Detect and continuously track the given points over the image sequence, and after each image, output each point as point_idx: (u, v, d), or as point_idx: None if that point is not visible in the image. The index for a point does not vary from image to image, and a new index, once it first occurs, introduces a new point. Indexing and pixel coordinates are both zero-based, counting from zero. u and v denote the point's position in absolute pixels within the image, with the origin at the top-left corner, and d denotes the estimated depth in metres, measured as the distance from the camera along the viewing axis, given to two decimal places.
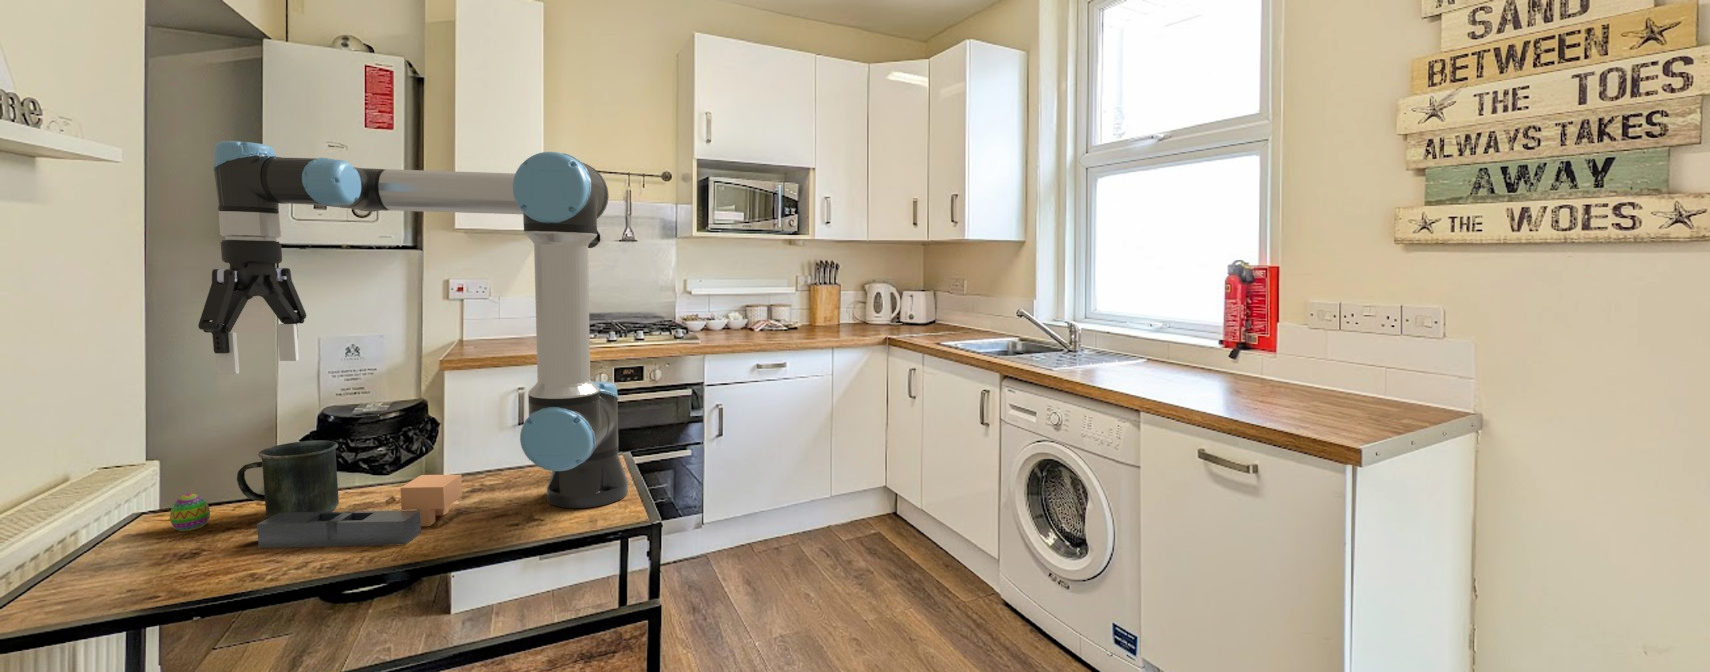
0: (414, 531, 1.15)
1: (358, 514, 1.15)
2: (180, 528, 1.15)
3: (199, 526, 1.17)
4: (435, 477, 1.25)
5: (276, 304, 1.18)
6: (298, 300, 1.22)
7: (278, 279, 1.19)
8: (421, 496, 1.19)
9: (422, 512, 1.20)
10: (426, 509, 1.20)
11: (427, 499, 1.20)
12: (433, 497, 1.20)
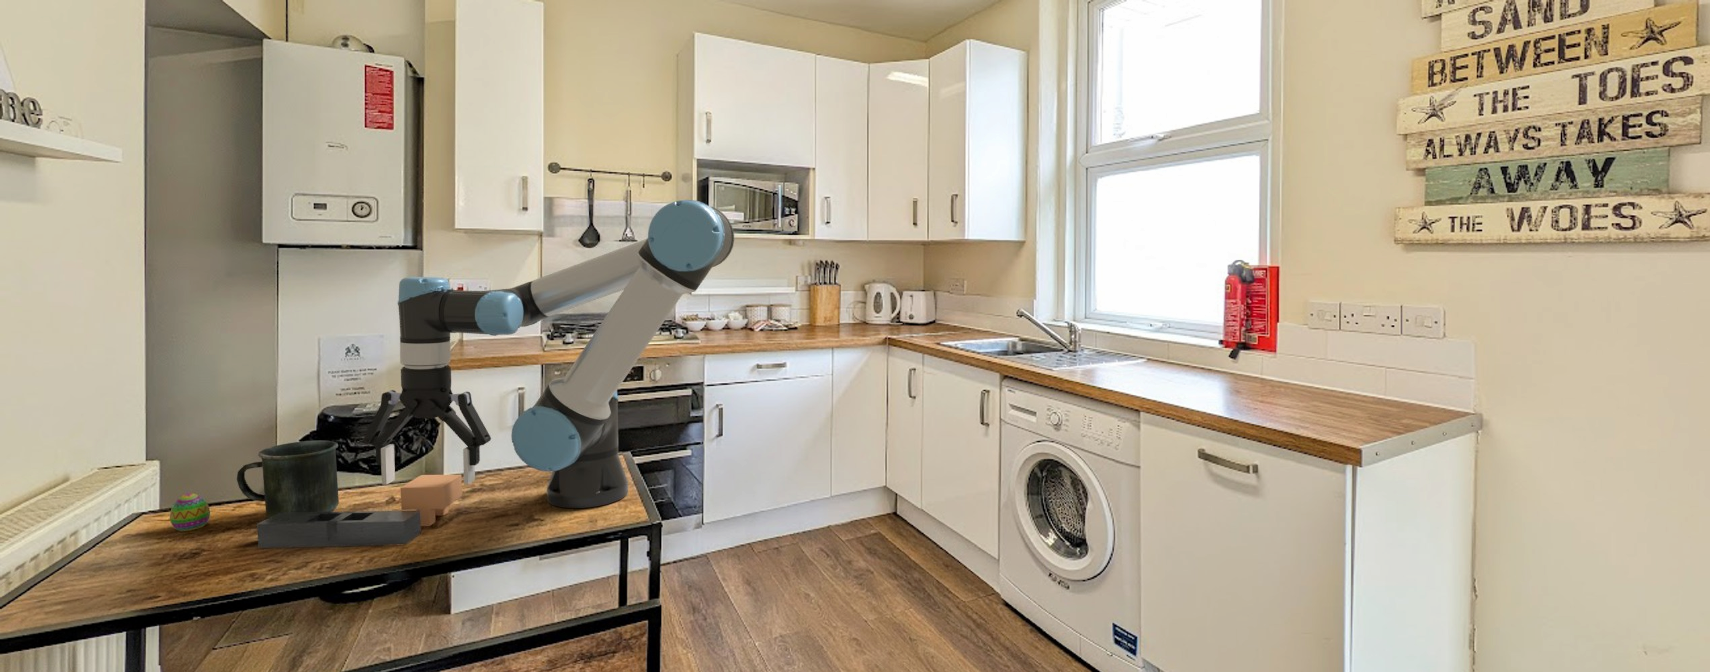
0: (414, 531, 1.15)
1: (358, 514, 1.15)
2: (180, 528, 1.15)
3: (199, 526, 1.17)
4: (435, 477, 1.25)
5: None
6: (474, 426, 1.21)
7: None
8: (421, 496, 1.19)
9: (422, 512, 1.20)
10: (426, 509, 1.20)
11: (427, 499, 1.20)
12: (433, 497, 1.20)
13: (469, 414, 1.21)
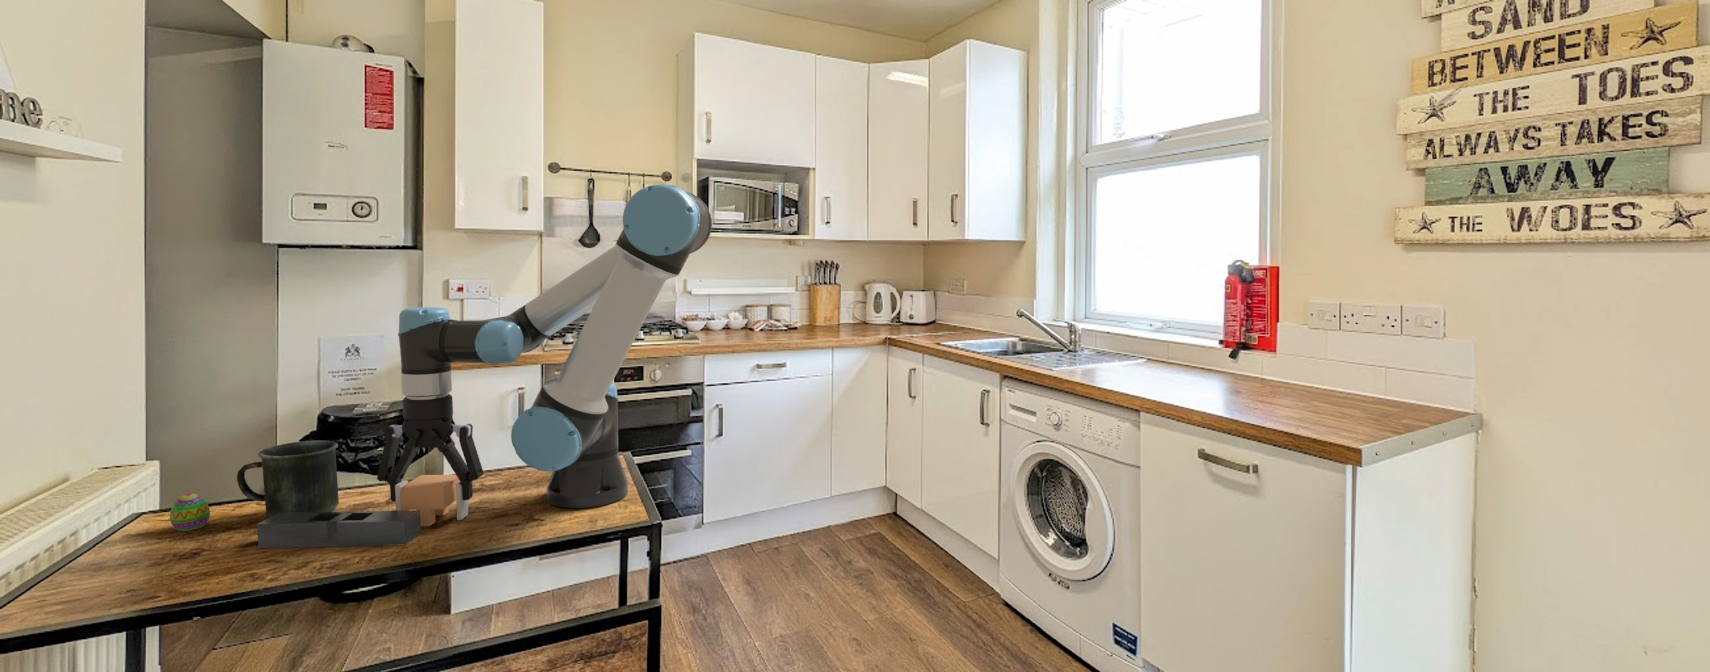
0: (414, 531, 1.15)
1: (358, 514, 1.15)
2: (180, 528, 1.15)
3: (199, 526, 1.17)
4: (435, 477, 1.25)
5: None
6: (470, 460, 1.22)
7: None
8: (421, 496, 1.19)
9: (422, 512, 1.20)
10: (426, 509, 1.20)
11: (427, 499, 1.20)
12: (433, 497, 1.20)
13: (467, 448, 1.22)
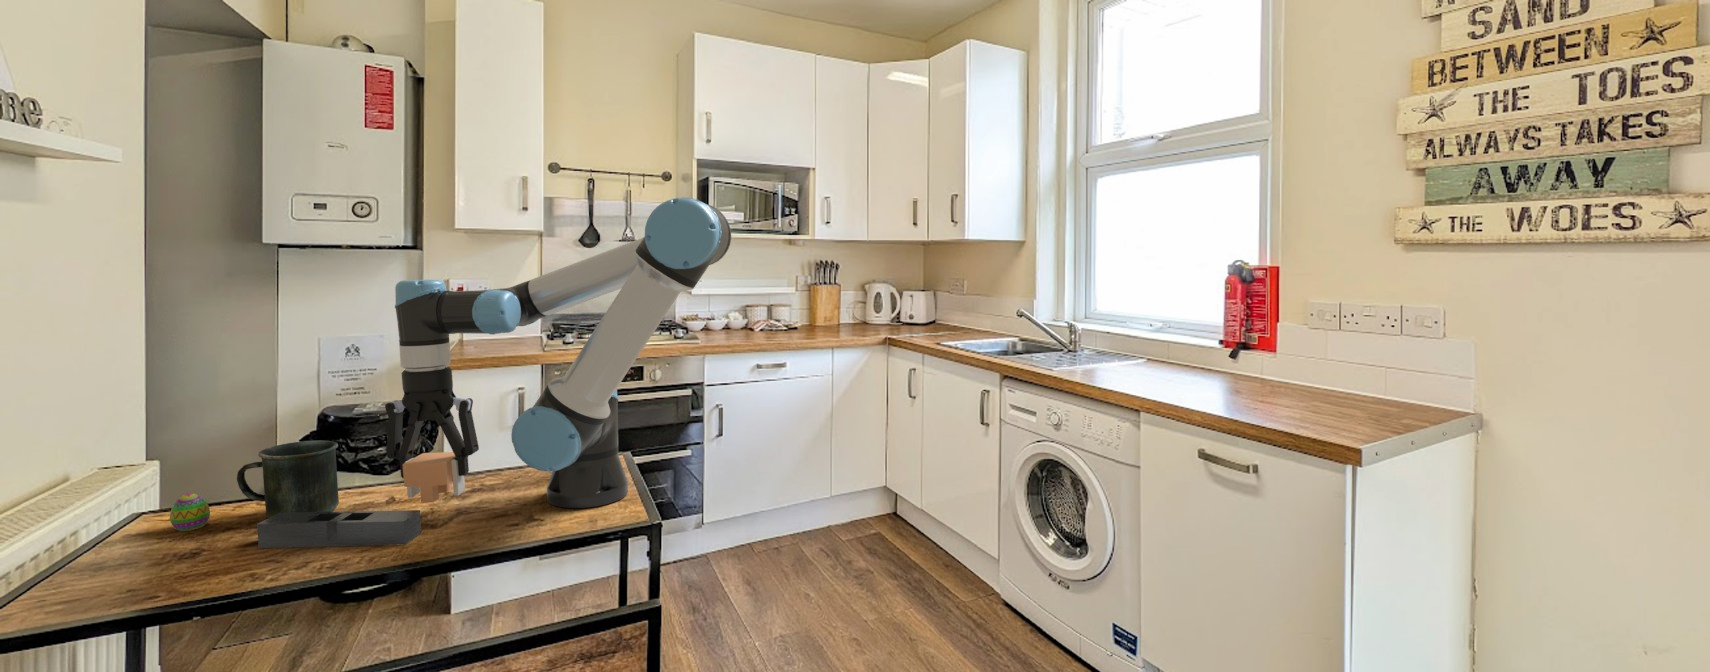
0: (414, 531, 1.15)
1: (358, 514, 1.15)
2: (180, 528, 1.15)
3: (199, 526, 1.17)
4: (437, 454, 1.24)
5: None
6: (467, 435, 1.21)
7: None
8: (423, 472, 1.19)
9: (425, 488, 1.19)
10: (429, 485, 1.19)
11: (430, 475, 1.19)
12: (435, 473, 1.19)
13: (466, 422, 1.21)
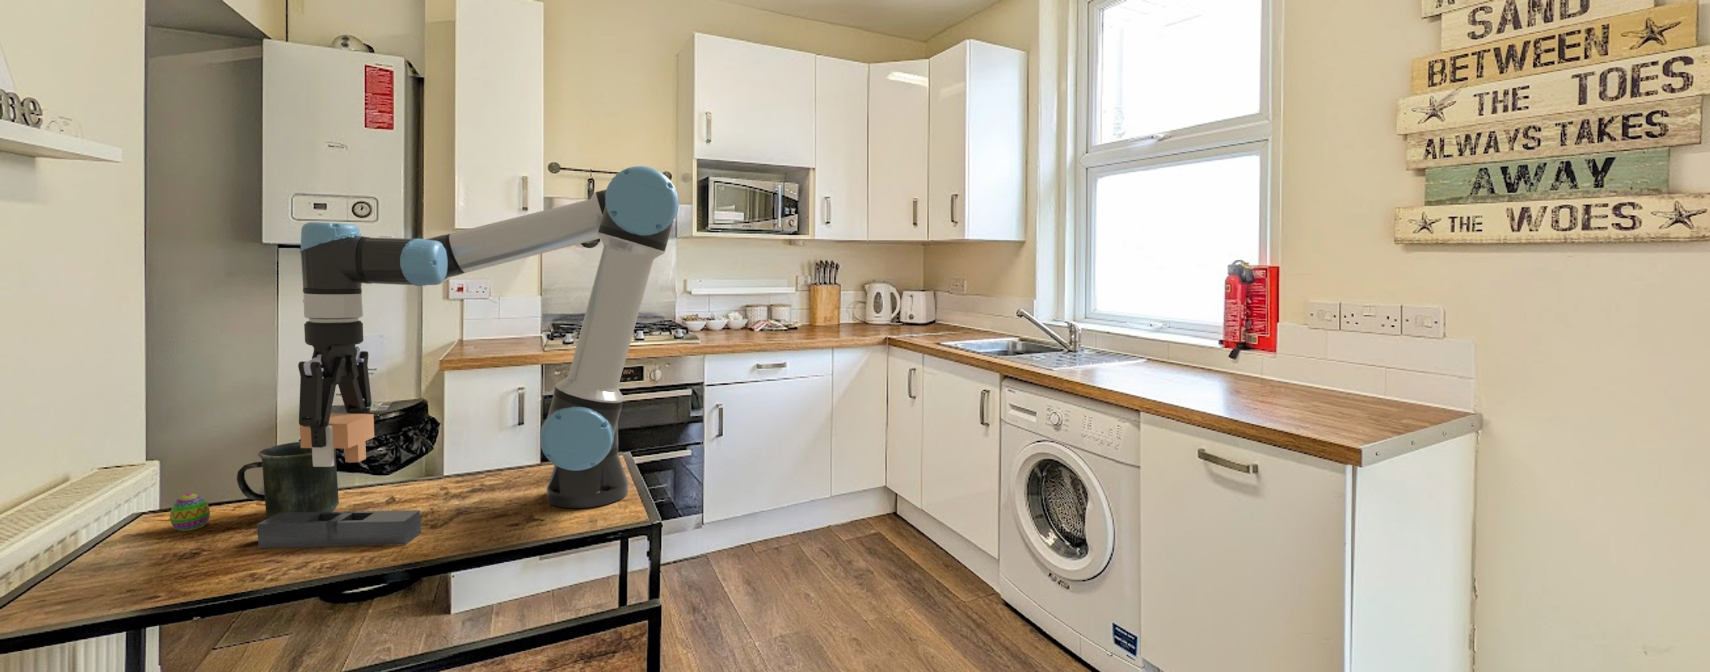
0: (414, 531, 1.15)
1: (358, 514, 1.15)
2: (180, 528, 1.15)
3: (199, 526, 1.17)
4: None
5: (348, 388, 1.14)
6: (368, 386, 1.18)
7: (355, 361, 1.15)
8: (360, 428, 1.12)
9: (361, 446, 1.12)
10: (363, 441, 1.13)
11: (364, 430, 1.13)
12: (367, 427, 1.14)
13: (367, 373, 1.17)
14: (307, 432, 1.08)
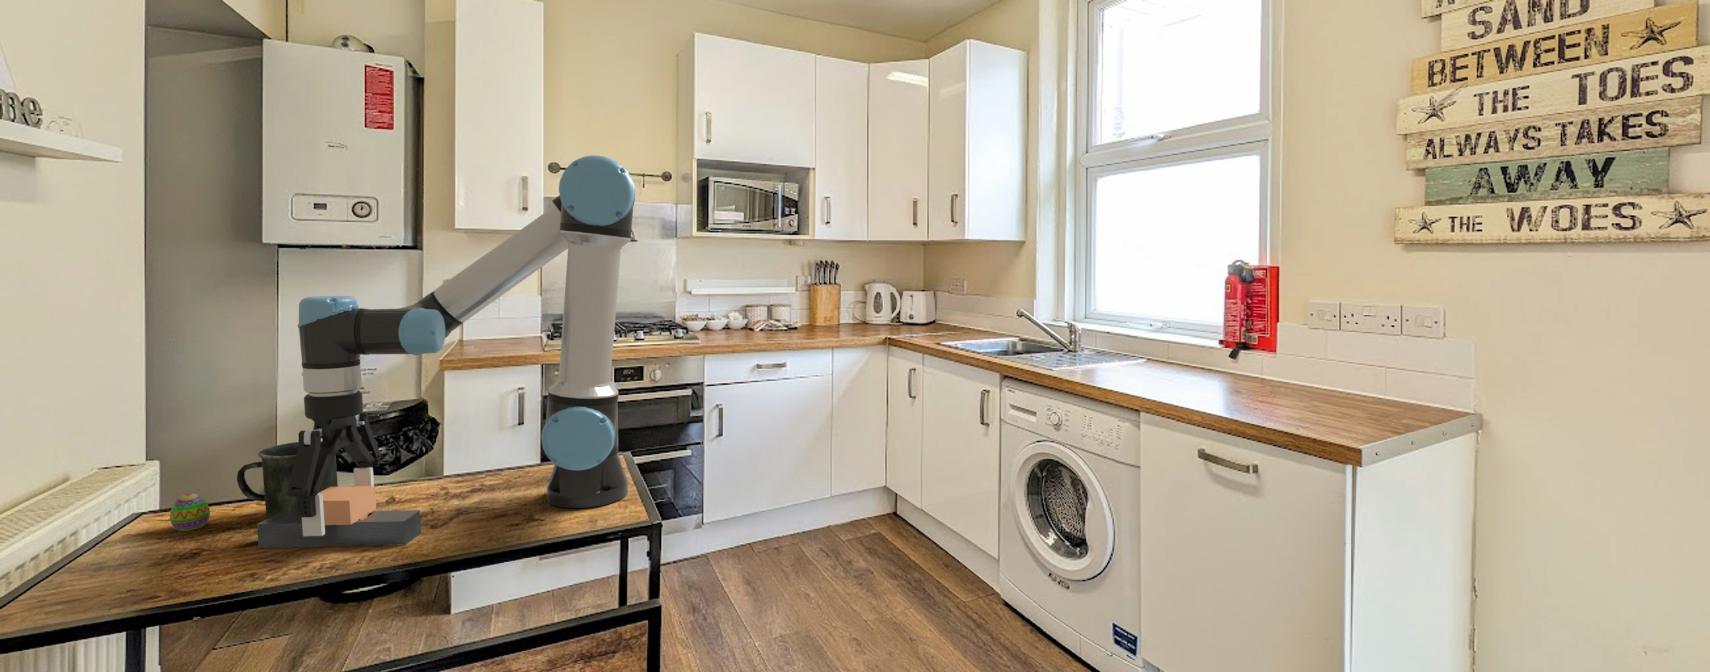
0: (414, 531, 1.15)
1: None
2: (180, 528, 1.15)
3: (199, 526, 1.17)
4: (325, 494, 1.12)
5: (355, 450, 1.16)
6: (374, 442, 1.20)
7: (356, 425, 1.16)
8: (362, 503, 1.13)
9: (363, 519, 1.13)
10: (366, 515, 1.14)
11: (366, 504, 1.14)
12: (369, 500, 1.15)
13: (370, 431, 1.19)
14: None
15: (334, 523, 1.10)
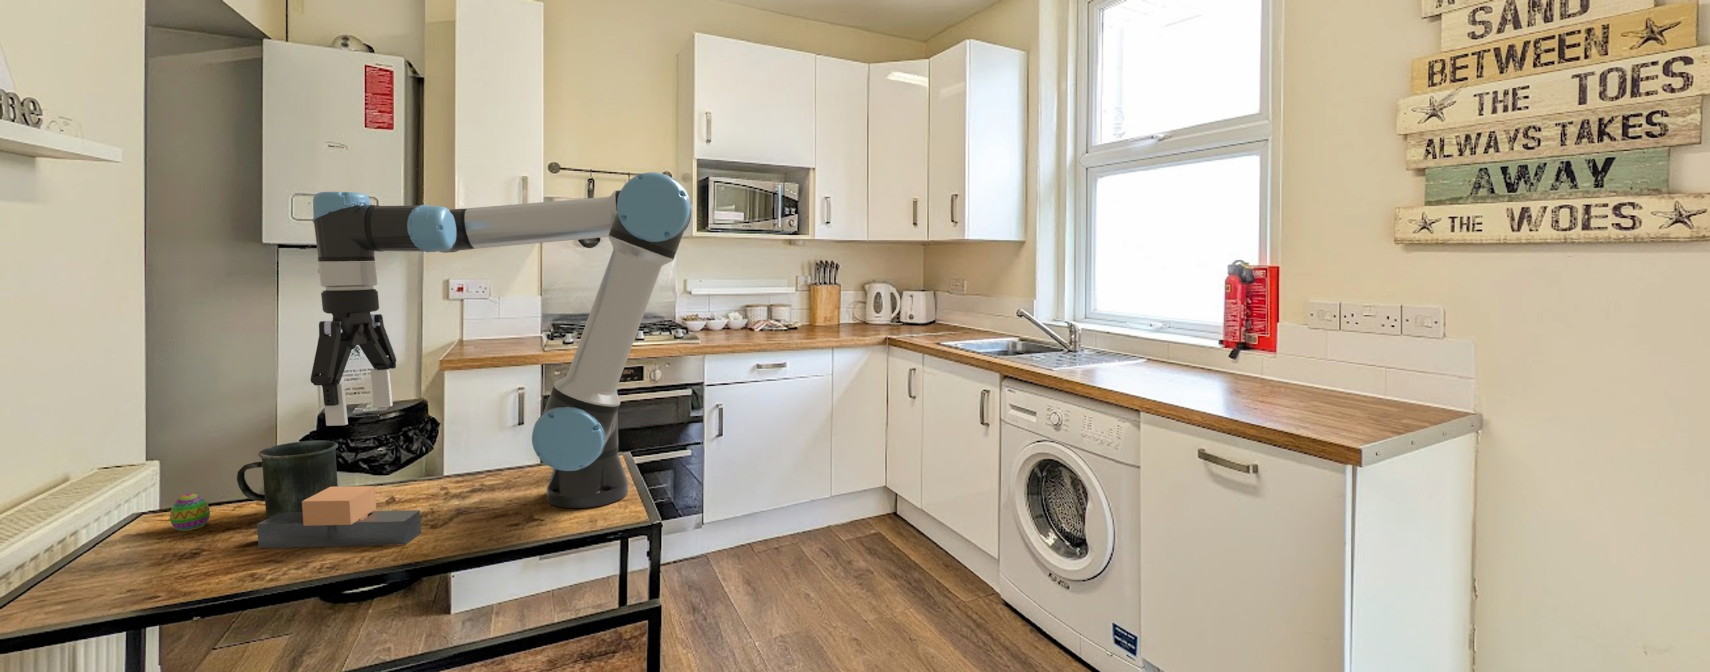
0: (414, 531, 1.15)
1: None
2: (180, 528, 1.15)
3: (199, 526, 1.17)
4: (325, 494, 1.12)
5: (371, 350, 1.18)
6: (389, 345, 1.22)
7: None
8: (362, 503, 1.13)
9: (363, 519, 1.13)
10: (366, 515, 1.14)
11: (366, 504, 1.14)
12: (369, 500, 1.15)
13: (386, 334, 1.21)
14: (309, 510, 1.09)
15: (334, 523, 1.10)
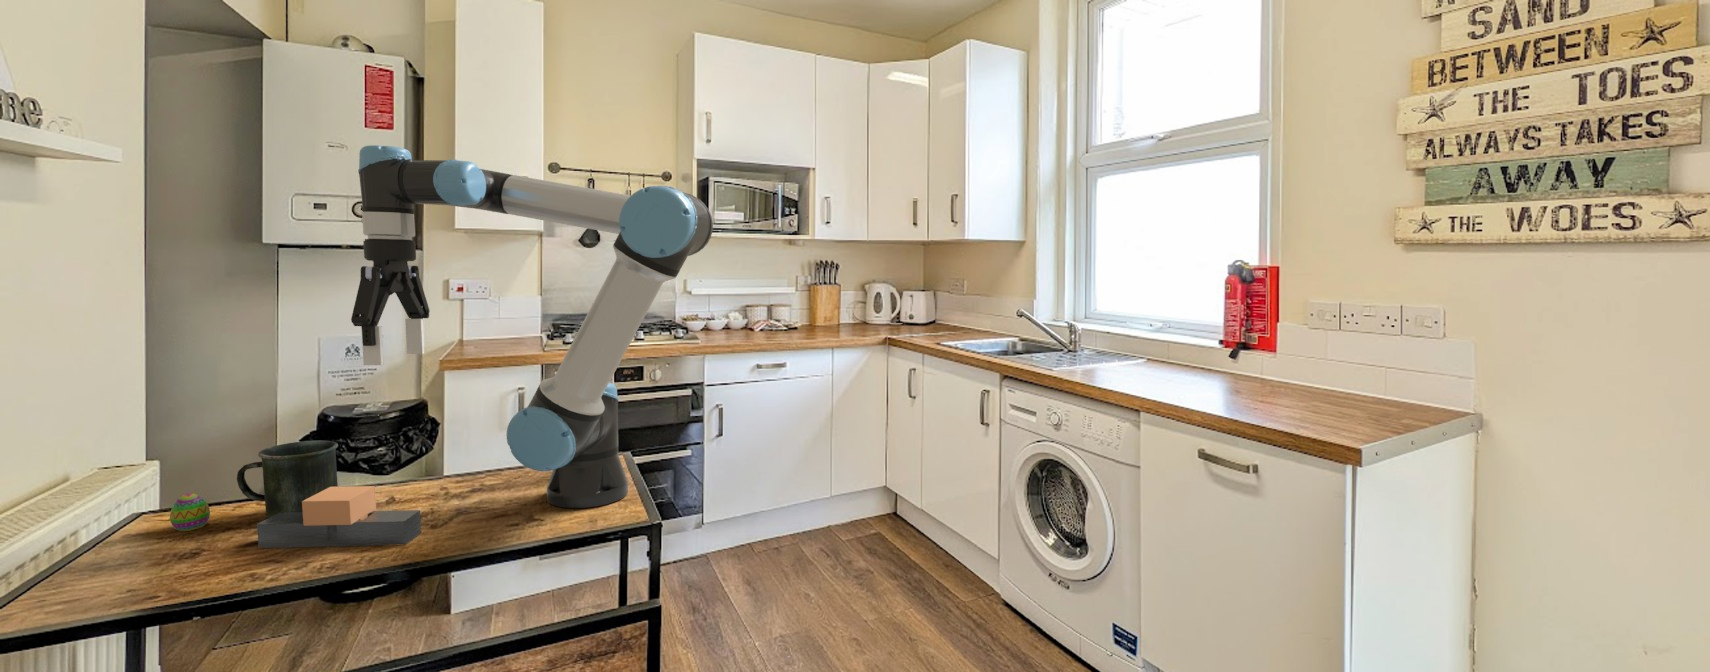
0: (414, 531, 1.15)
1: None
2: (180, 528, 1.15)
3: (199, 526, 1.17)
4: (325, 494, 1.12)
5: (407, 299, 1.25)
6: (424, 296, 1.29)
7: None
8: (362, 503, 1.13)
9: (363, 519, 1.13)
10: (366, 515, 1.14)
11: (366, 504, 1.14)
12: (369, 500, 1.15)
13: (421, 285, 1.28)
14: (309, 510, 1.09)
15: (334, 523, 1.10)
